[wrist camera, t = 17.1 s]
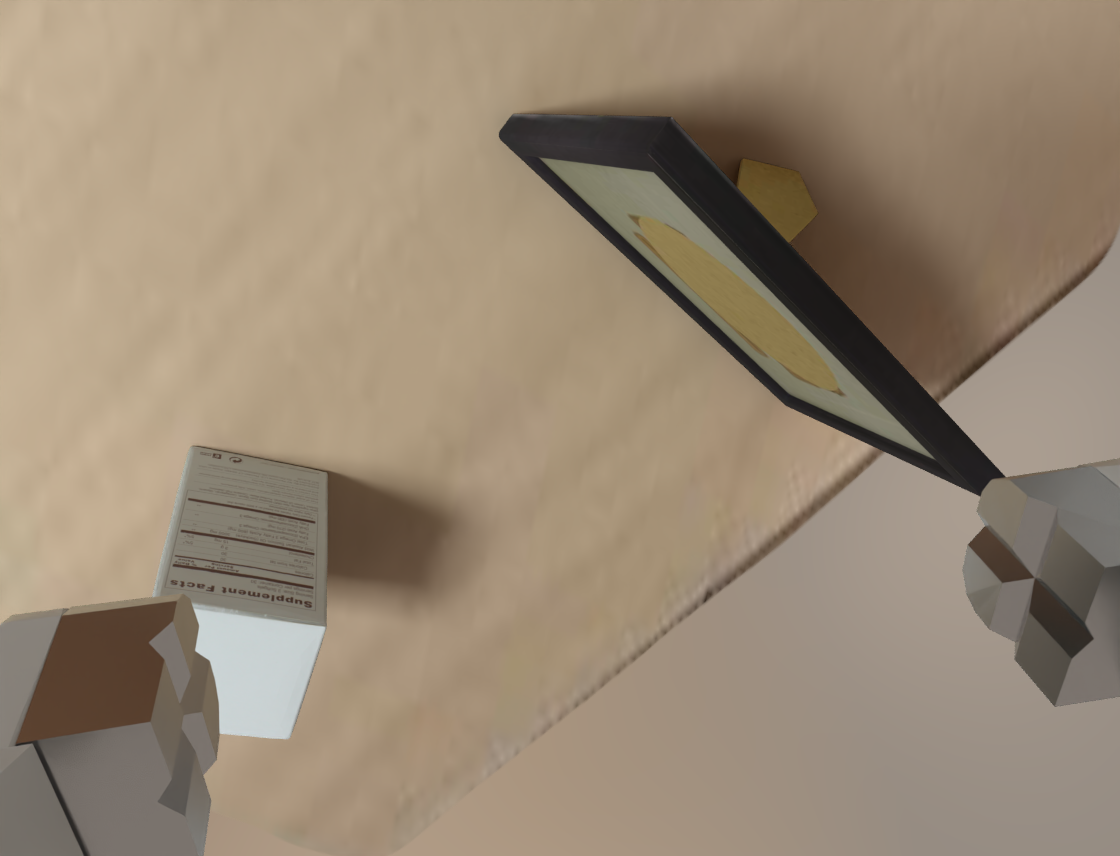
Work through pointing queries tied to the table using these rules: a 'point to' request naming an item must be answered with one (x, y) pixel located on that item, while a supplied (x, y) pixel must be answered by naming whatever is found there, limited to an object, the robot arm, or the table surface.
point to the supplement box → (251, 581)
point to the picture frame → (744, 276)
